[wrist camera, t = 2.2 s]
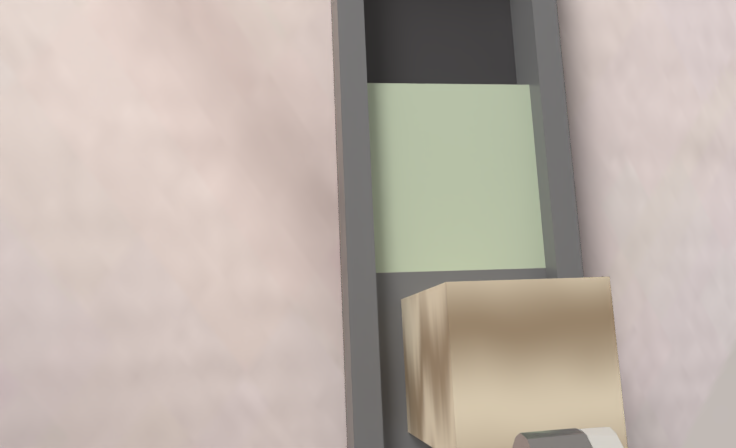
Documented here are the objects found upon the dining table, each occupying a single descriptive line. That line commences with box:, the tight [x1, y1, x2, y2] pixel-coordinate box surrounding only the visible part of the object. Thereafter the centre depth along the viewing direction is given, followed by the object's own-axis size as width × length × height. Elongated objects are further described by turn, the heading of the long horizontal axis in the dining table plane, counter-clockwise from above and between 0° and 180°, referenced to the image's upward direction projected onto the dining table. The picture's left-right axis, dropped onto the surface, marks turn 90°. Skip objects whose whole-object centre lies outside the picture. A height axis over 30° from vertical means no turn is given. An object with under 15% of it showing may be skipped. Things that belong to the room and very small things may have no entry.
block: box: [401, 277, 628, 448], centre depth 32 cm, size 7×7×10 cm
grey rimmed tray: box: [331, 0, 584, 448], centre depth 39 cm, size 32×13×4 cm, turn 2°
